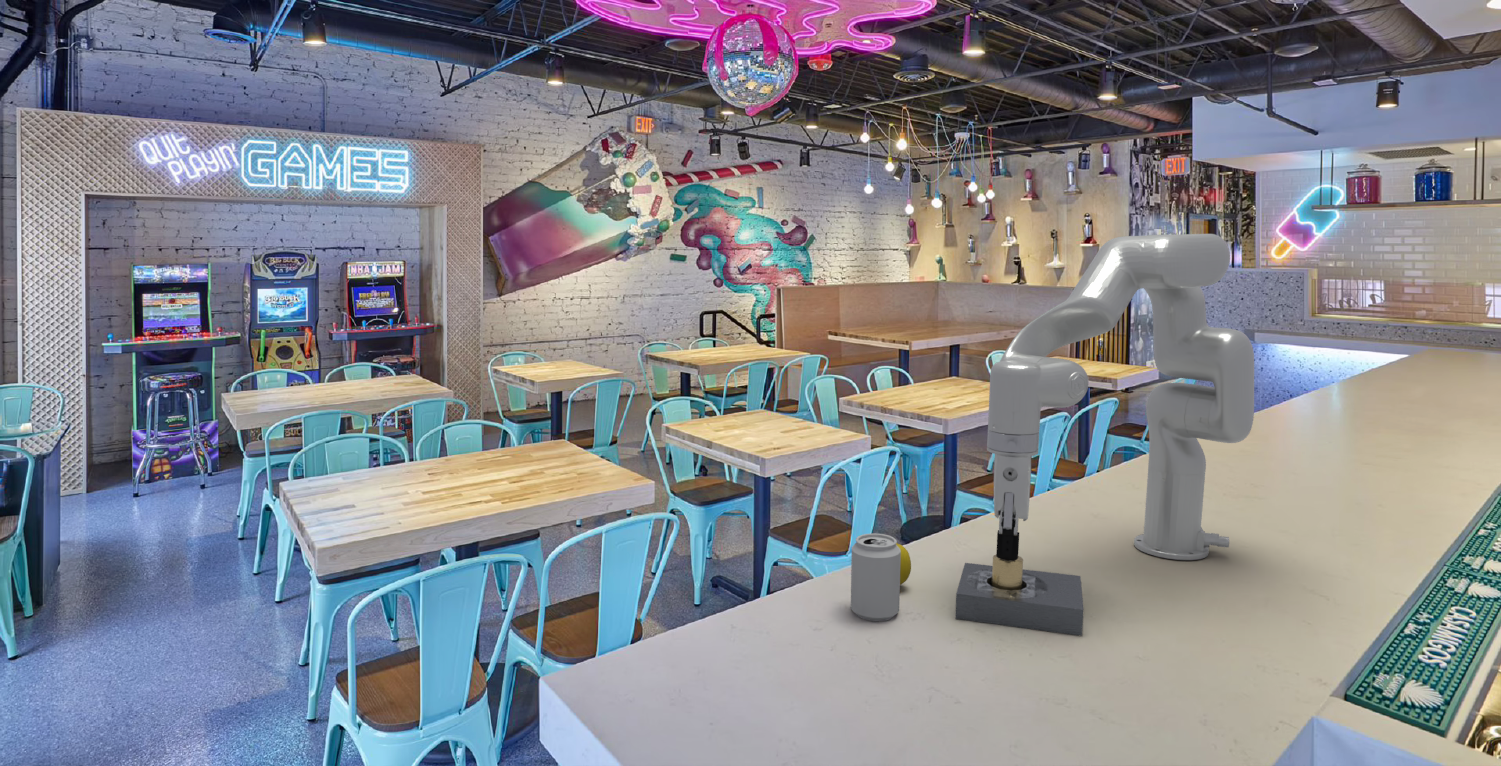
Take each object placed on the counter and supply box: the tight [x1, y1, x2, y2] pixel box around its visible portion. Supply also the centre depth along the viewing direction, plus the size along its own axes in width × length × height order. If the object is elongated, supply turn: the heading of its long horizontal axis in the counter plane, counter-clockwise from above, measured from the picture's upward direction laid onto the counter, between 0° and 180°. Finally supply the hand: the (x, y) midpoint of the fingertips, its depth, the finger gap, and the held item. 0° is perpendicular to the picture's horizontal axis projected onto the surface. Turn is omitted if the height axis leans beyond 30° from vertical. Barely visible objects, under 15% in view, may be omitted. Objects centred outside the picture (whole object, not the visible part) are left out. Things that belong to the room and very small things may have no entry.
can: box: [850, 533, 901, 622], centre depth 130 cm, size 8×8×12 cm
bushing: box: [992, 554, 1024, 591], centre depth 132 cm, size 4×4×8 cm
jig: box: [954, 562, 1084, 637], centre depth 132 cm, size 18×14×4 cm
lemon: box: [896, 542, 912, 586], centre depth 140 cm, size 6×6×8 cm
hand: (1007, 557), depth 131 cm, fingers closed
